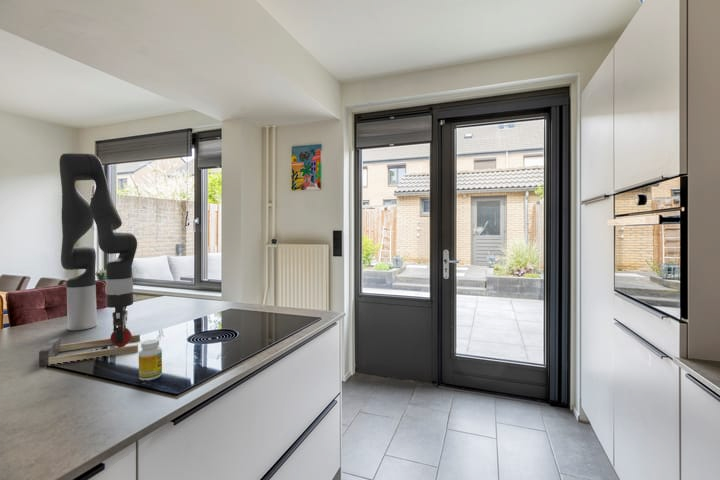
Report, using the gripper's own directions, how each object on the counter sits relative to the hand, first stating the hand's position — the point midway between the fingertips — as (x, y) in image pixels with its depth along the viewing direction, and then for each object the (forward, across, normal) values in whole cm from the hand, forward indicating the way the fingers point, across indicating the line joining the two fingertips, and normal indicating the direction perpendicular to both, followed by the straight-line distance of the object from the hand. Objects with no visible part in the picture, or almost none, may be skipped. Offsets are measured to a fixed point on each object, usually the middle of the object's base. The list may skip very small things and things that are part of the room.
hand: (120, 339), depth 114 cm
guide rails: (+3, 0, -7) cm, 7 cm away
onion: (+3, 0, 0) cm, 3 cm away
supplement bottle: (+3, +32, +9) cm, 33 cm away
